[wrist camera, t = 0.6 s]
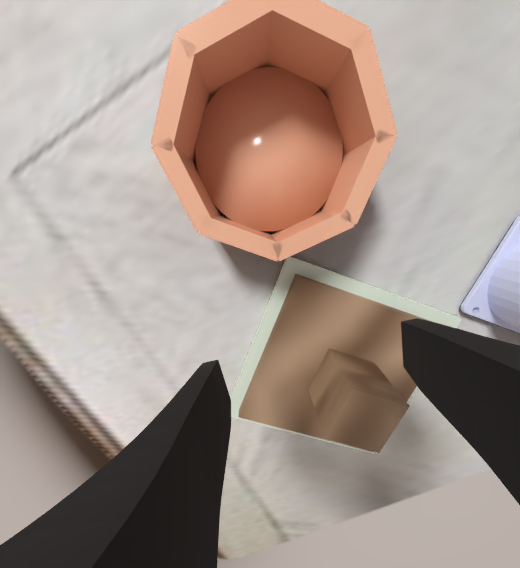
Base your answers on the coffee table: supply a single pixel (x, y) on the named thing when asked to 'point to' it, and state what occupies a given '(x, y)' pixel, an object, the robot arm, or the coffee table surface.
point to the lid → (332, 368)
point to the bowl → (273, 123)
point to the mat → (335, 280)
